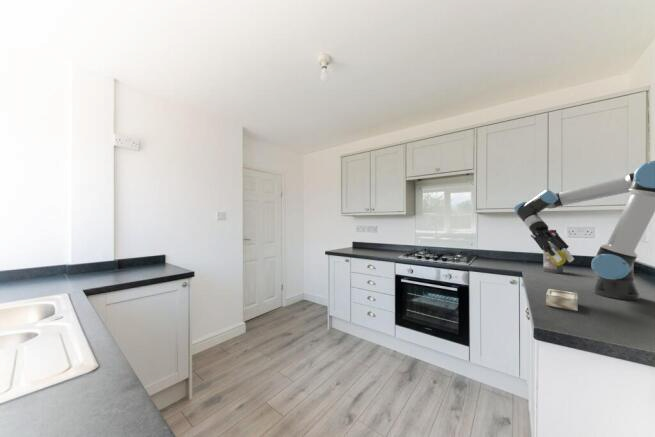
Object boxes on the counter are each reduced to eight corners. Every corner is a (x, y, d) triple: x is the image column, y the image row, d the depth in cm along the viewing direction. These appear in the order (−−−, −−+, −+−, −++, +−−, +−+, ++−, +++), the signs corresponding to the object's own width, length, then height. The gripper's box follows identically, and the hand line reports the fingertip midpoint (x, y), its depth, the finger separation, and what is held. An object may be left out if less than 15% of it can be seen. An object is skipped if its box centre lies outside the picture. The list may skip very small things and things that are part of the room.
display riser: (577, 303, 115) (577, 293, 115) (577, 310, 106) (577, 299, 106) (548, 298, 122) (548, 288, 122) (546, 305, 113) (546, 294, 113)
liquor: (554, 273, 177) (554, 230, 177) (541, 270, 186) (541, 229, 186) (565, 272, 179) (565, 230, 179) (551, 270, 188) (551, 229, 188)
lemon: (550, 264, 131) (551, 248, 130) (565, 265, 127) (565, 249, 127) (550, 266, 126) (551, 250, 126) (566, 267, 123) (566, 251, 123)
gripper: (547, 229, 142) (577, 264, 126) (516, 229, 141) (542, 265, 125) (556, 220, 137) (589, 255, 121) (524, 220, 136) (553, 256, 120)
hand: (565, 260), depth 123 cm, fingers closed on lemon, 5 cm apart
